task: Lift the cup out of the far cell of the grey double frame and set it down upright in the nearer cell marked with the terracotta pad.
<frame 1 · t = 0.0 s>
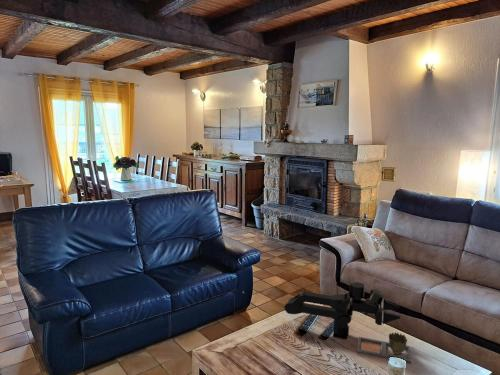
hand: (399, 312, 159), 17 cm above the table, tool horizontal, fingers open, 9 cm apart
grey double frame: (383, 350, 158), on the table
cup: (396, 353, 157), on the table
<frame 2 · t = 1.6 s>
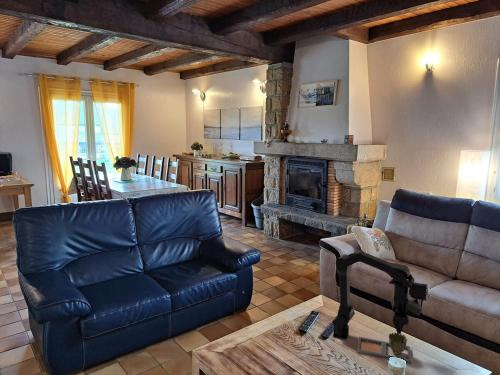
hand: (398, 328, 155), 12 cm above the table, tool pointing down, fingers open, 9 cm apart
nothing on the table moved.
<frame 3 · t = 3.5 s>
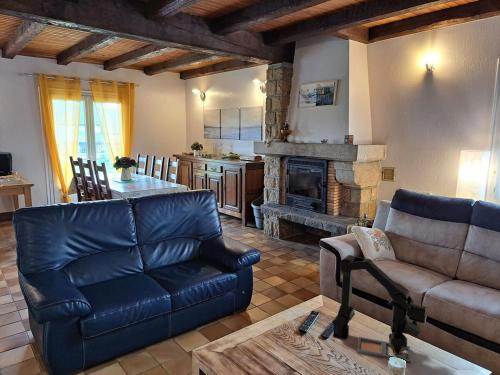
hand: (397, 348, 156), 2 cm above the table, tool pointing down, fingers closed on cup, 6 cm apart
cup: (396, 353, 157), on the table, touching gripper
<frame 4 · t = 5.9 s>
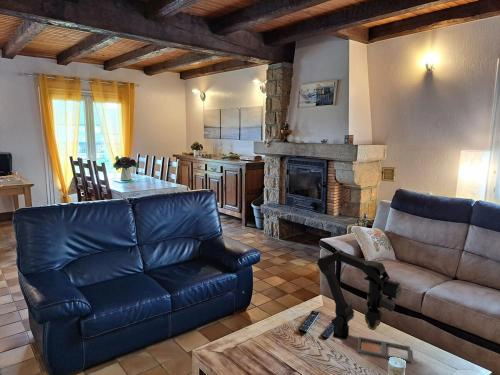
hand: (372, 323, 158), 12 cm above the table, tool pointing down, fingers closed on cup, 6 cm apart
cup: (372, 328, 159), point 10 cm above the table, touching gripper
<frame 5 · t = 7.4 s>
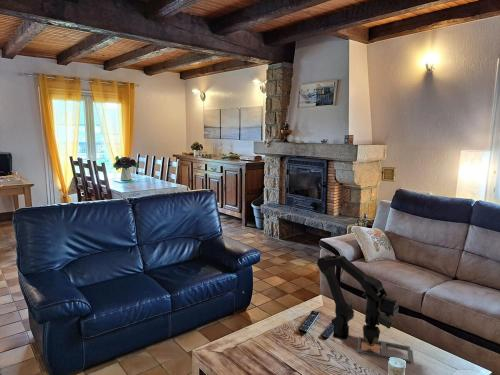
hand: (370, 340, 160), 4 cm above the table, tool pointing down, fingers closed on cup, 6 cm apart
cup: (370, 345, 160), point 2 cm above the table, touching gripper
when the fingers open (3 cm above the table, at t = 8.5 s): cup stays where it is, resting on grey double frame.
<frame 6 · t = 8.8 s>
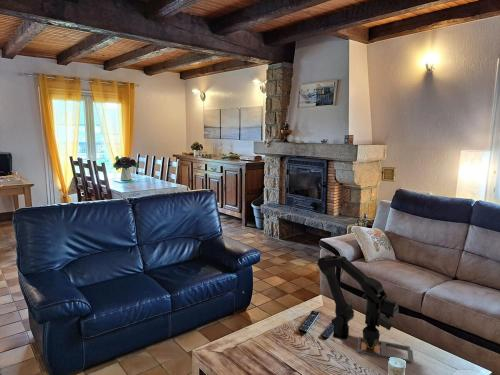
hand: (370, 341, 160), 3 cm above the table, tool pointing down, fingers open, 9 cm apart
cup: (370, 348, 160), resting on grey double frame
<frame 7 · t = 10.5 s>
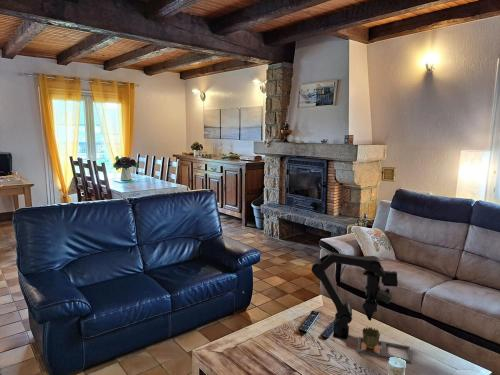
hand: (370, 315, 165), 12 cm above the table, tool pointing down, fingers open, 9 cm apart
nothing on the table moved.
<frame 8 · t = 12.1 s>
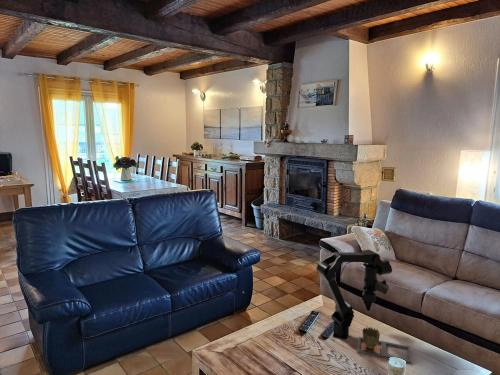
hand: (368, 306, 174), 12 cm above the table, tool pointing down, fingers open, 9 cm apart
nothing on the table moved.
at the end: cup 0.1 cm from the target spot, on the table; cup tilted 0°; the gripper is holding nothing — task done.
